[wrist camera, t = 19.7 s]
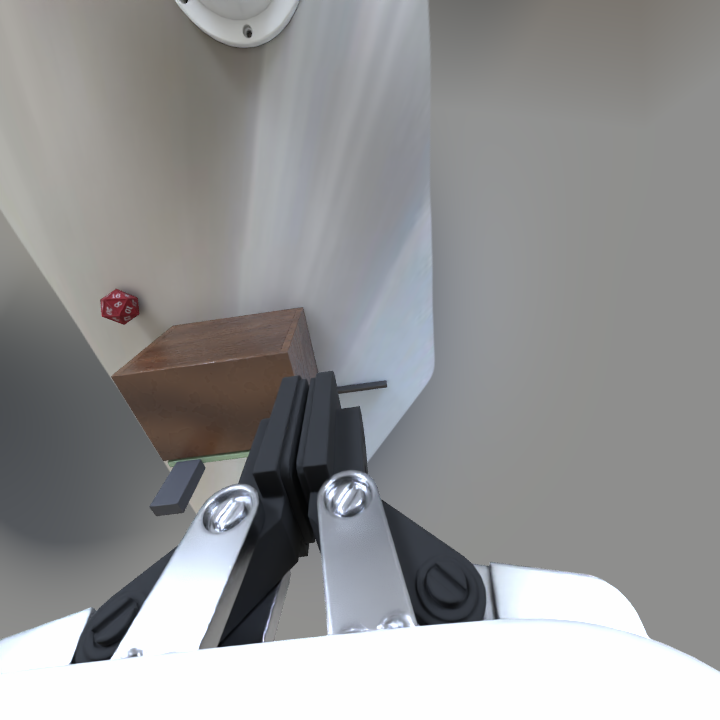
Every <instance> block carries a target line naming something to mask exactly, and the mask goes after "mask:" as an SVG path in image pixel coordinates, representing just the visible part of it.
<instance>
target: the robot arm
mask: <svg viewBox="0 0 720 720" xmlns="http://www.w3.org/2000/svg"><path fill="white" fill-rule="evenodd" d="M175 1H176V2H177V4H178V5H179V7H180V8H181V10H182V11H183V12H184V13H185V14H186V15H187V16H188V17H189V19H190V20H191V21H192V22H193V23H194V24H196V25H197V26H198V27H199V28H200V29H201V30H202V31H203V32H204V33H206V34H207V35H209V36H210V37H212V38H214V39H215V40H217V41H219V42H222V43H224V44H227V45H229V46H234V47H241V48H247V47H256V46H259V45H261V44H264V43H267V42H269V41H270V40H271V39H273V38H274V37H276V36H277V35H278V34H279V33H280V32H281V31H282V30H283V29H284V28H285V26H286V25H287V24H288V23H289V21H290V19H291V17H292V16H293V14H294V12H295V10H296V8H297V5H298V2H299V0H189V1H188V3H185V0H175ZM249 32H251V33H252V36H251V37H250V38H248V36H247V34H248V33H249ZM315 539H316V541H317V544H318V547H319V550H320V553H321V558H322V570H323V582H324V594H325V607H326V619H327V631H328V636H321V637H312V638H303V639H293V640H283V641H274V639H275V635H276V631H277V627H278V624H279V620H280V616H281V613H282V609H283V605H284V601H285V598H286V594H287V590H288V586H289V583H290V576H291V572H290V569H291V568H292V567H293V566H294V565H295V564H296V563H297V562H298V558H299V557H304V556H308V549H309V543H314V542H315ZM0 720H720V672H719V671H717V670H715V669H713V668H712V667H710V666H708V665H707V664H705V663H703V662H701V661H699V660H698V659H696V658H694V657H692V656H690V655H687V654H685V653H683V652H681V651H679V650H677V649H674V648H672V647H670V646H668V645H666V644H663V643H660V642H658V641H655V640H652V639H649V638H648V636H647V633H646V631H645V629H644V627H643V625H642V623H641V621H640V618H639V616H638V615H637V613H636V611H635V610H634V608H633V607H632V605H631V604H630V602H629V601H628V600H627V599H626V598H625V597H624V596H623V595H622V594H621V593H620V592H619V591H618V590H617V589H616V588H615V587H613V586H611V585H610V584H608V583H606V582H605V581H603V580H602V579H599V578H596V577H593V576H589V575H586V574H579V573H572V572H564V571H556V570H548V569H541V568H533V567H526V566H518V565H511V564H504V563H495V562H490V565H489V566H485V565H478V564H472V563H471V562H469V561H468V560H467V559H466V558H465V557H464V556H462V555H461V554H460V553H458V552H457V551H455V550H454V549H452V548H451V547H449V546H448V545H447V544H445V543H444V542H442V541H441V540H439V539H438V538H436V537H435V536H434V535H432V534H431V533H429V532H428V531H426V530H425V529H423V528H422V527H421V526H419V525H417V524H416V523H415V522H413V521H412V520H410V519H409V518H407V517H406V516H405V515H403V514H402V513H400V512H399V511H397V510H396V509H395V508H393V507H392V506H390V505H389V504H387V503H386V502H384V501H383V500H381V498H380V494H379V491H378V487H377V485H376V483H375V481H374V480H373V479H372V478H371V477H370V476H369V475H368V469H367V456H366V445H365V436H364V428H363V422H362V415H361V410H360V406H359V407H352V408H344V409H341V405H340V400H339V395H338V390H337V385H336V380H335V375H334V372H333V371H328V372H321V373H317V374H316V378H311V380H310V386H309V384H308V380H307V379H302V378H301V376H300V375H298V376H290V377H284V378H283V379H282V381H281V384H280V387H279V391H278V394H277V397H276V400H275V403H274V406H273V409H272V413H271V416H270V418H266V419H262V420H261V422H260V424H259V426H258V429H257V432H256V435H255V438H254V440H253V443H252V446H251V449H250V452H249V455H248V457H247V460H246V463H245V466H244V469H243V471H242V474H241V477H240V480H239V483H238V484H234V485H230V486H227V487H225V488H222V489H221V490H219V491H218V492H216V493H214V494H213V495H212V496H211V497H210V498H209V499H208V500H206V502H205V503H204V504H203V506H202V507H201V508H200V510H199V511H198V513H197V515H196V517H195V518H194V520H193V522H192V523H191V525H190V527H189V528H188V530H187V532H186V533H185V535H184V537H183V538H182V540H181V542H180V543H179V545H178V546H177V547H175V548H174V549H173V550H171V551H170V552H169V553H168V554H166V555H165V556H164V557H162V558H161V559H160V560H159V561H157V562H156V563H155V564H153V565H152V566H151V567H150V568H148V569H147V570H146V571H144V572H143V573H142V574H141V575H139V576H138V577H137V578H135V579H134V580H133V581H132V582H130V583H129V584H128V585H126V586H125V587H124V588H123V589H121V590H120V591H119V592H118V593H116V594H115V595H114V596H112V597H111V598H110V599H109V600H108V601H107V602H106V603H104V605H102V606H101V607H100V608H99V609H98V610H97V611H96V610H95V609H94V608H89V609H86V610H83V611H80V612H77V613H75V614H72V615H69V616H66V617H63V618H61V619H58V620H55V621H52V622H49V623H46V624H43V625H41V626H38V627H35V628H32V629H29V630H27V631H24V632H21V633H18V634H15V635H12V636H10V637H7V638H4V639H1V640H0Z"/></svg>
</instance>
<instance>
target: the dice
mask: <svg viewBox="0 0 720 720" xmlns="http://www.w3.org/2000/svg"><path fill="white" fill-rule="evenodd" d="M101 312H102V317H105V318H107V319H110V320H113V321H115V322H118V323H121V324H123V325H125V324H126V323H127V322H129V321H130V320H132V319H133V318H135V317H136V316H137V315H139V306H138V298H137V297H134V296H132V295H130V294H127V293H125V292H123V291H120V290H118V289H115V290H114V291H112V292H111V293H110V294H108V295H107V296H105V297H104V298H102V299H101Z"/></svg>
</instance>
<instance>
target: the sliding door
mask: <svg viewBox="0 0 720 720" xmlns="http://www.w3.org/2000/svg"><path fill="white" fill-rule="evenodd" d="M249 452H250V450H244V451H236V452H228V453H220V454H213V455H205V456H197V457H190V458H182V459H174V460H169V461H168V464H169V466H170V467H173V469H172V470H171V472H170V474H169V476H168V477H167V479H166V480H165V482H164V484H163V485H162V487H161V488H160V490H159V492H158V493H157V495H156V497H155V498H154V500H153V502H152V503H151V505H150V508H151V510H152V511H153V512H154V514H155V515H156V516H161V515H170V514H178V513H184V511H185V508H186V507H187V505H188V503H189V501H190V499H191V497H192V495H193V493H194V491H195V489H196V487H197V484H198V482H199V480H200V478H201V476H202V474H203V472H204V470H205V466H204V464H203V463H206V462H213V461H221V460H229V459H237V458H244V457H248V455H249Z"/></svg>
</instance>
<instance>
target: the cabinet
mask: <svg viewBox="0 0 720 720" xmlns="http://www.w3.org/2000/svg"><path fill="white" fill-rule="evenodd" d="M317 373H318V369H317V365H316V361H315V357H314V352H313V348H312V344H311V339H310V335H309V331H308V327H307V322H306V318H305V314H304V309H303V307H302V308H295V309H288V310H281V311H273V312H266V313H259V314H252V315H245V316H238V317H231V318H224V319H217V320H210V321H203V322H196V323H189V324H182V325H175V326H172V327H171V328H170V329H168V330H167V331H166V332H165V333H163V334H162V335H161V336H160V337H159V338H157V339H156V340H155V341H154V342H152V343H151V344H150V345H149V346H148V347H146V348H145V349H144V350H143V351H141V352H140V353H139V354H138V355H136V356H135V357H134V358H133V359H132V360H130V361H129V362H128V363H127V364H125V365H124V366H123V367H122V368H121V369H119V370H118V371H117V372H116V373H114V374H113V375H112V376H111V377H112V379H113V381H114V382H115V384H116V385H117V387H118V389H119V390H120V392H121V394H122V395H123V397H124V398H125V400H126V402H127V403H128V405H129V406H130V408H131V410H132V411H133V413H134V415H135V416H136V418H137V419H138V421H139V423H140V424H141V426H142V427H143V429H144V431H145V432H146V434H147V436H148V437H149V439H150V440H151V442H152V444H153V445H154V447H155V448H156V450H157V452H158V453H159V455H160V457H161V458H162V460H163V461H166V460H174V459H182V458H190V457H197V456H205V455H213V454H220V453H228V452H236V451H244V450H250V449H251V446H252V443H253V440H254V438H255V435H256V432H257V429H258V426H259V424H260V422H261V420H262V419H266V418H270V416H271V413H272V409H273V406H274V403H275V400H276V397H277V394H278V391H279V387H280V384H281V381H282V379H283V378H284V377H290V376H298V375H300V376H301V378H302V379H307V380H308V384H309V386H310V380H311V378H316V374H317ZM386 387H387V383H386V381H379V382H372V383H364V384H357V385H349V386H342V387H337V390H338V394H341V393H348V392H356V391H363V390H371V389H378V388H386Z"/></svg>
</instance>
